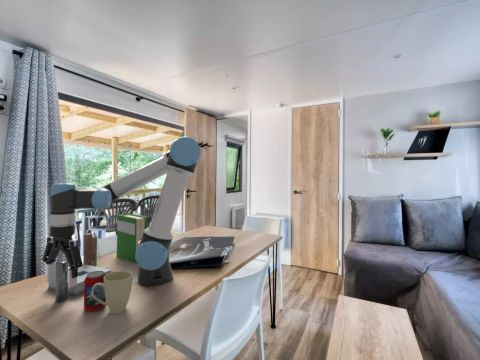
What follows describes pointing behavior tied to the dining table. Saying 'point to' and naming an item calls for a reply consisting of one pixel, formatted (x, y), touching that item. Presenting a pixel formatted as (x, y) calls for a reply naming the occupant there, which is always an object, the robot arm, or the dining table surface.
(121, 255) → the hardback book
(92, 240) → the wooden block
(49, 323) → the dining table surface
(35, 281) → the dining table surface
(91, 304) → the beverage can
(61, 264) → the pin
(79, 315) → the dining table surface
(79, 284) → the bore block
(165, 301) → the dining table surface
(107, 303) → the mug
